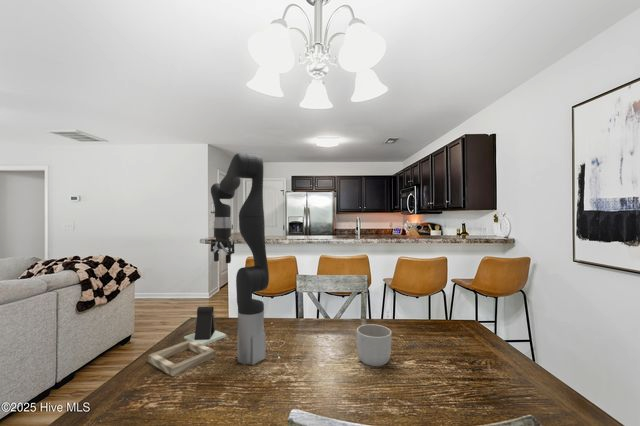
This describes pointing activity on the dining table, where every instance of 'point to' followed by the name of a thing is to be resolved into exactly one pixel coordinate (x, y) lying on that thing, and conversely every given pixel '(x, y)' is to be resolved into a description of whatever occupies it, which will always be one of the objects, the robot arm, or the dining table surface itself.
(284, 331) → the dining table surface
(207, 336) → the phone stand
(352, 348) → the dining table surface
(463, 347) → the dining table surface
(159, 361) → the pocket holder
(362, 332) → the planter
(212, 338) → the sage mat
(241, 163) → the robot arm
